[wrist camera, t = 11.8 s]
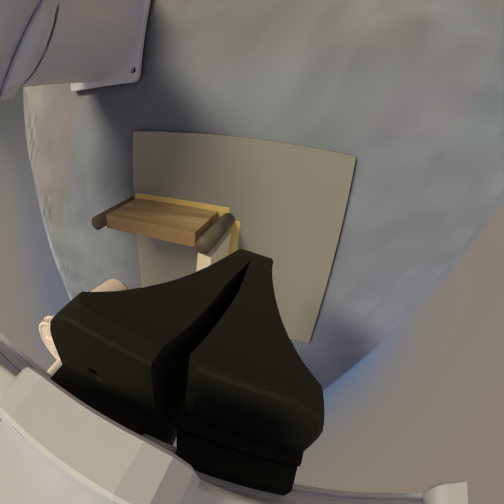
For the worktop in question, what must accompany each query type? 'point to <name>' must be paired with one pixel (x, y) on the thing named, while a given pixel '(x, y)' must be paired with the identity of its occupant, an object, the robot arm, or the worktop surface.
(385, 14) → the worktop surface
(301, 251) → the mat
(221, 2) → the worktop surface
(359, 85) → the worktop surface
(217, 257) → the fence panel
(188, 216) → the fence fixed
